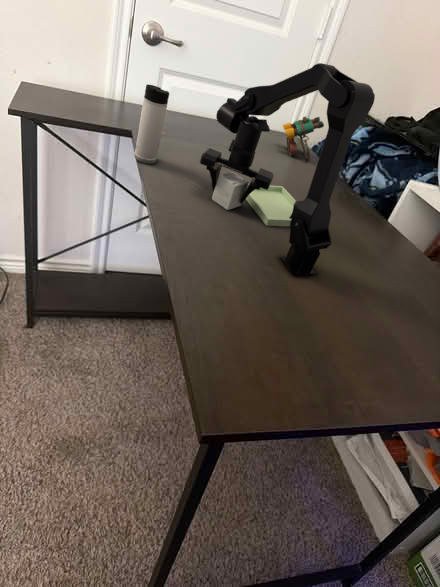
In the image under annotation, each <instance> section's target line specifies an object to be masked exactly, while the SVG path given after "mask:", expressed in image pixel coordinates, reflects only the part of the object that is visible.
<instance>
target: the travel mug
mask: <svg viewBox="0 0 440 587" xmlns="http://www.w3.org/2000/svg"><path fill="white" fill-rule="evenodd" d="M169 97H170V92H169V91H168V90H165V89H162V87H159V86H157V85H154V84H148V83H147V84H146V85H145V90H144V96H143V100H142V101H143V102H142V106H141V113H140V118H139V125H138V131H137V138H136V144H135V151H134V155H133V156H134V159H135V160H137V161H138V162H140V163H142V164H146V165H152V164H155V163H157V159H158V154H159V149H160V144H161V139H162V134H163V129H164V125H165V124H164V123H165V118H166V113H167V109H168V104H169Z"/></svg>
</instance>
